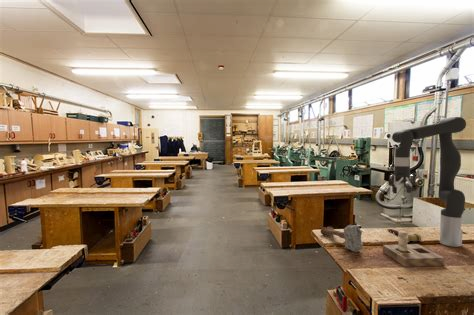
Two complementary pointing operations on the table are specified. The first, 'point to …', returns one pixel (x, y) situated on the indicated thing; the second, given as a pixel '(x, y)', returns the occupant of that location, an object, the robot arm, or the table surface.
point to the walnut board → (414, 256)
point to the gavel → (409, 236)
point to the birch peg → (402, 241)
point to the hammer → (347, 236)
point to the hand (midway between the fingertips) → (401, 193)
